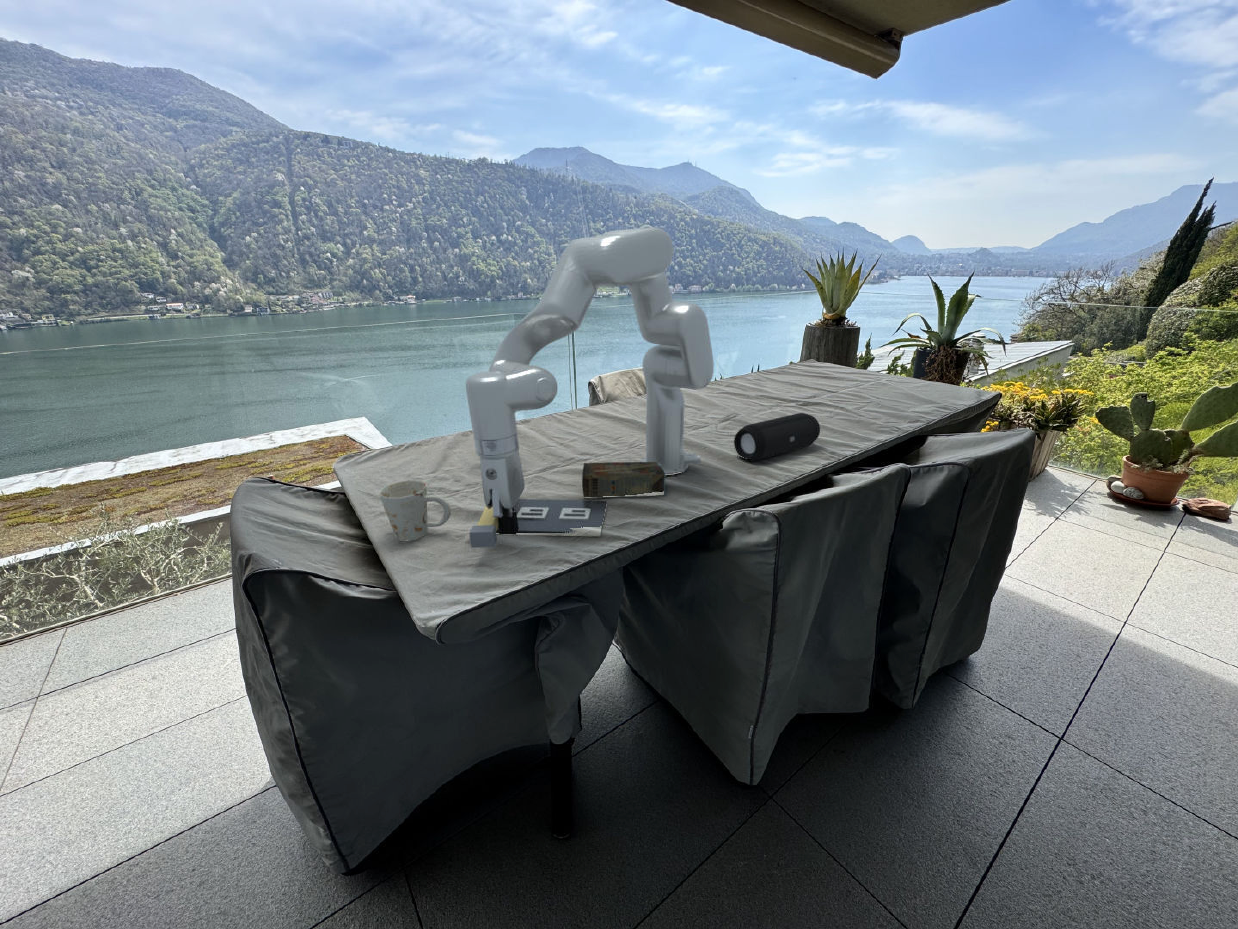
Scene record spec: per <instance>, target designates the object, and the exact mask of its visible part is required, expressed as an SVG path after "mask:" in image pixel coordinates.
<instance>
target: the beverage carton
mask: <svg viewBox="0 0 1238 929" xmlns="http://www.w3.org/2000/svg"><path fill="white" fill-rule="evenodd" d="M581 487H582V495H583V496H582V497H583V498H584V497H603V496H625V495H637V494H644V493H652V492H663V491H664V492H665V490H666V476H665V472H664V470H663V466H662V463H661V462H641V461H628V462H627V461H620V462H619V461H618V462H615V461H614V462H611V461H610V462H608V461H607V462H584V463H583V468H582V475H581Z"/></svg>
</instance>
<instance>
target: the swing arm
mask: <svg viewBox="0 0 1238 929" xmlns="http://www.w3.org/2000/svg"><path fill="white" fill-rule="evenodd" d="M498 526H499V522H498V518H494V517H493V507H492V508H491V509H488V508H487V507H486V506H485V508H484V510H483V512H482V513H481V516H480V519H479V520H478V522H477V524H476V525H472V526H471V528H470V530H469V532H468V533H469V540H470V546H471V547H470V548H473V549H474V548H493V547H494V548H495V547H496V544H497V541H498V536H497V535H498V534H496V531H497V528H498Z"/></svg>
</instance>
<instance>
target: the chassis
mask: <svg viewBox="0 0 1238 929" xmlns="http://www.w3.org/2000/svg"><path fill="white" fill-rule="evenodd" d="M606 504H607V505H608V500H596V499H595V500H594V499H593V500H590V499H589V500H588V499H587V500H586V499H585V500H584V499H583V500H582V499H547V498H546V499H543V498H542V499H541V498H539V499H537V498H534V499H533V498H519V499H518V501H517V503H516V511H513V512H516V513H517V520H518V528H519V529H518V531H517V533H565V532H566V533H567V532H568V533H569V532H573V530H572V529H570V528H581V527H582V528H583V527H600V526H602V522H603V518H604V519H605V517H604V514H605V515H606V512H605V509H606V510H607V507H606ZM603 523H604V522H603ZM602 527H603V526H602ZM574 532H575V531H574ZM496 533H499V534H501V533H500V529H499V526H498V528H497V531H496Z"/></svg>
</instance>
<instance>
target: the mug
mask: <svg viewBox="0 0 1238 929" xmlns="http://www.w3.org/2000/svg"><path fill="white" fill-rule="evenodd" d="M378 493H379V494H378V495H379V497H380V500H381V503H382V505H383V508H384V511H385V513H386V516H387V518H388V519H387V520H388V521H389V524H390V526H391V530H392V533H393V534H394V536H395V538H396V540H398V539H399V540H398V541H400V540H412V541H415V539H416V540H418V538H419V539H420V537H421V538H422V536H423V535H424V536H426V535H427V534H428V531H429V528H433V527H434V528H435V527H436V528H437V527H441V526H443V525H444V524H446V523H447V522H448V520H449V519H450V518H451V514H452V513H451V510H452V509H451V507H450V505H449V503H448V502H447V500H445V498H444V497H442V496H439V495H427V494H428V490H427V485H426V483H425V482H424V481H422V480H419V479H403V480H400V481H394V482H392V483H389V484H387V485H385V486H383V487H382V488H381V489H380V490H379V492H378ZM429 502H431V503H432V502H435V503H437V504H439V505H441V508H443V511H444V512H443V516H442V517H441V519H440V520H439V521H435V522H433V521H432V522H431V521H429V520H428V503H429ZM425 534H426V535H425ZM424 536H423V537H424Z"/></svg>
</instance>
